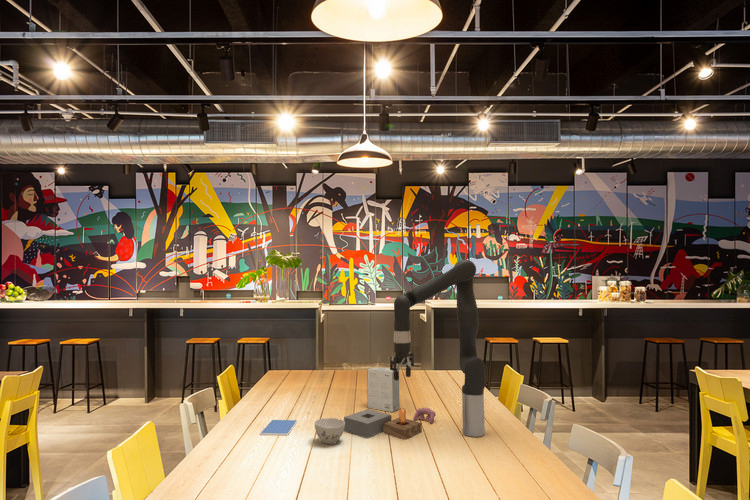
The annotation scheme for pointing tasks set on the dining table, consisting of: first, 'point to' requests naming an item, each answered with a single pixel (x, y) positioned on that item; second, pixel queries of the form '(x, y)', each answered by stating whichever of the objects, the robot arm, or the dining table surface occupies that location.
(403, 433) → the pin mount
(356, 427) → the dock socket
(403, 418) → the pin
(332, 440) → the teacup
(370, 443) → the dining table surface
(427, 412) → the video game controller
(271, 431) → the blue book
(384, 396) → the hard drive box
